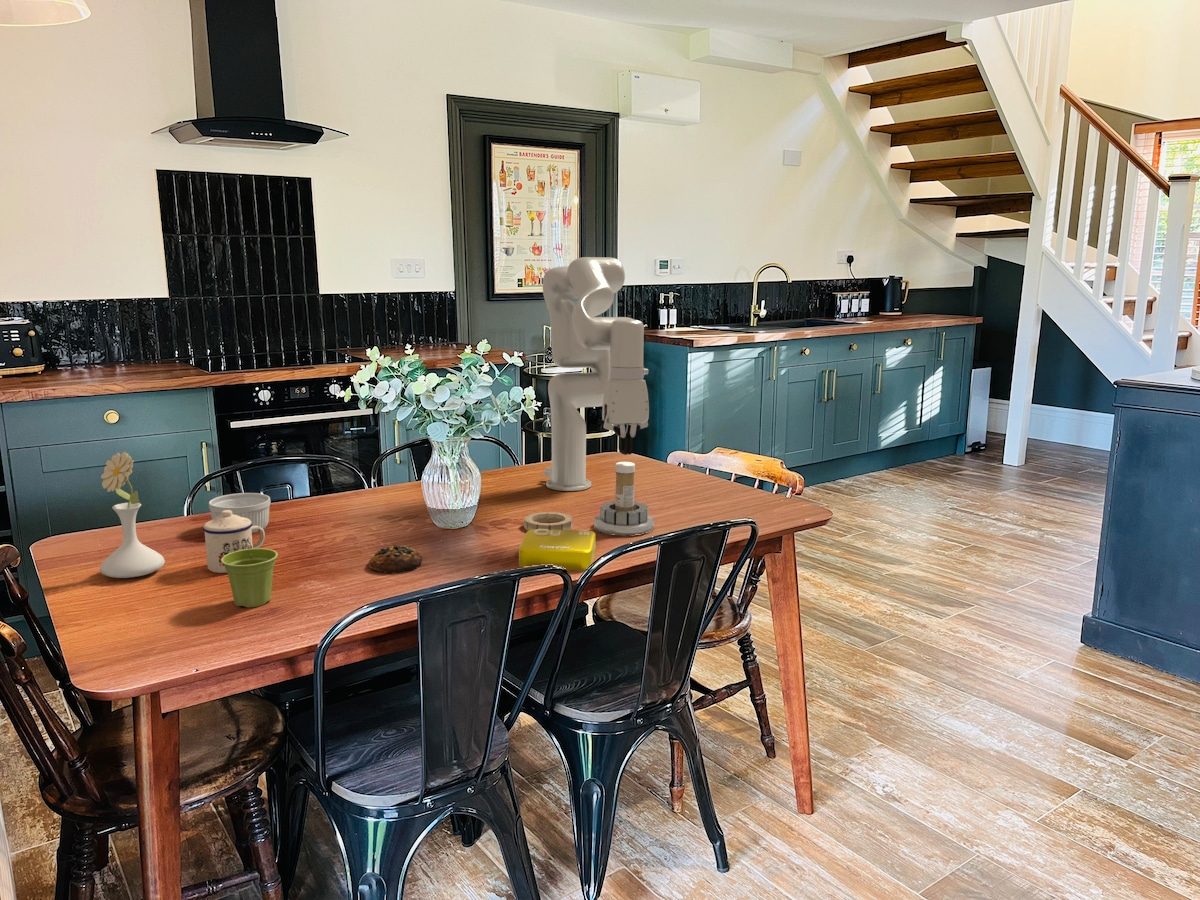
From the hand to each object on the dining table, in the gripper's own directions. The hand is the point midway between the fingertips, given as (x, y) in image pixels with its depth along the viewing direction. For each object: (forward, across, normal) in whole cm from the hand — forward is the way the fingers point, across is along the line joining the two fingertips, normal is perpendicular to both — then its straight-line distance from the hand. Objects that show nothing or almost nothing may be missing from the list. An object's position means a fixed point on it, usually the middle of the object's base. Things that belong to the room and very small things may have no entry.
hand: (625, 453), depth 204 cm
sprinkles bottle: (+16, 0, -1) cm, 16 cm away
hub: (+18, 0, 0) cm, 18 cm away
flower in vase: (+18, +103, -3) cm, 105 cm away
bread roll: (+18, +54, +8) cm, 58 cm away
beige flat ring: (+18, +16, -7) cm, 25 cm away
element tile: (+19, +22, +15) cm, 32 cm away
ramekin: (+18, +84, -30) cm, 91 cm away
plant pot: (+18, +82, +20) cm, 86 cm away
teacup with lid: (+18, +84, -2) cm, 86 cm away
